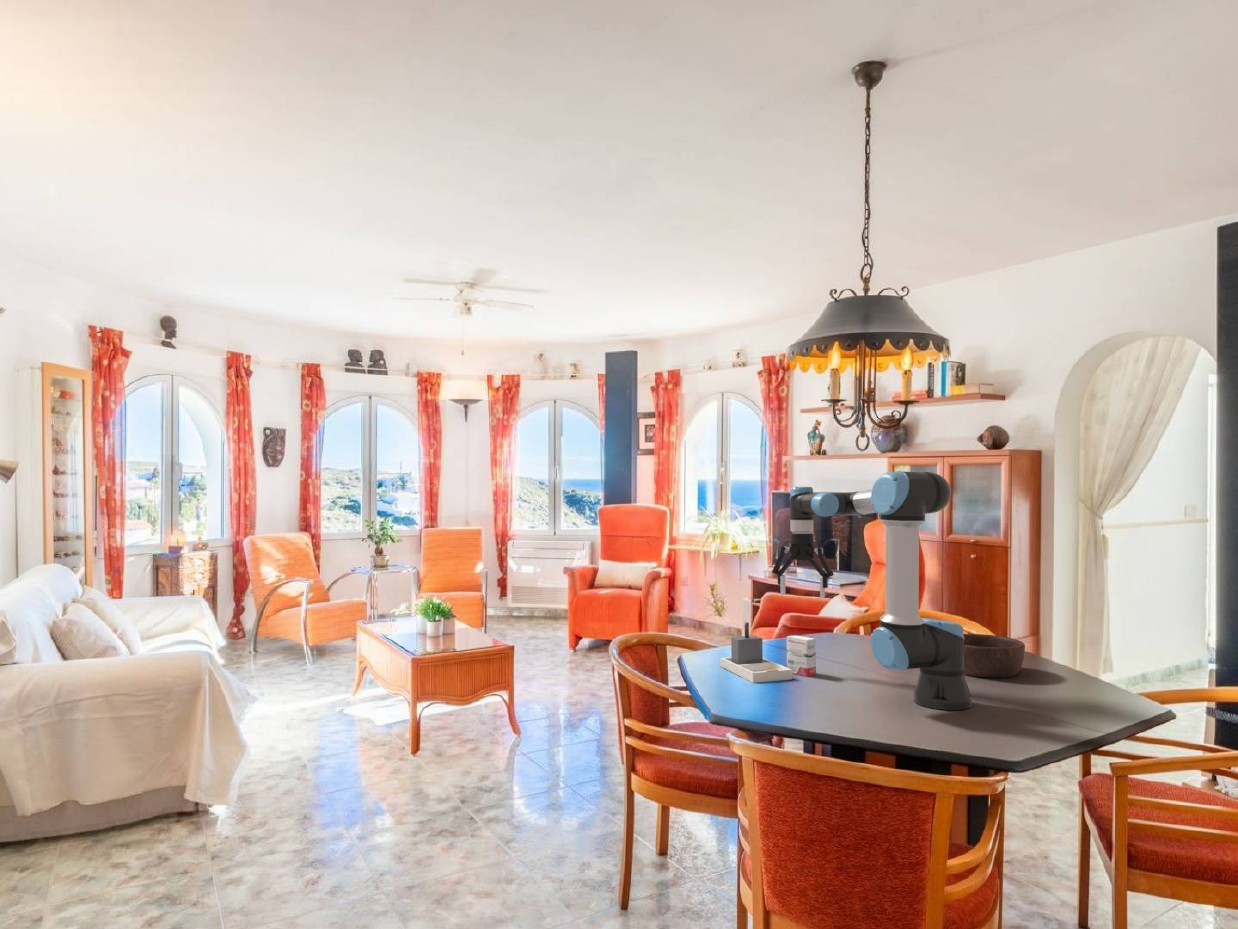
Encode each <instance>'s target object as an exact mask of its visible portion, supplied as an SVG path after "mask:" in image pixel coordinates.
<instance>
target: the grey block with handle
mask: <svg viewBox="0 0 1238 929" xmlns="http://www.w3.org/2000/svg"><path fill="white" fill-rule="evenodd" d="M749 623H750V622H747V621H746V622H744V635H743V636H732V637H731V636H730V638H731V640H730V641H731V644H730V645H731V646H730V647H731V648H730V649H731V657H732V662H733V663H735V664H737V665H741V664H753V663H763V658H764V657H763V654H764V653H763V651H764V650H763V647H764V646H763V637H760V636H758V635H750V629H749V628H750V624H749Z"/></svg>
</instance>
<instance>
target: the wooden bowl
mask: <svg viewBox="0 0 1238 929" xmlns="http://www.w3.org/2000/svg"><path fill="white" fill-rule="evenodd" d="M964 638H965V640H964V673H965V676H970V677H975V678H976V677H979V678H989V679H1002V678H1003V679H1004V678H1005V679H1006V678H1012V677H1015V676H1016V675H1017V674H1019V672H1020V670H1021V668H1022V666H1023V663H1024V657H1025V651H1026V645H1025V643H1024V642H1022V641H1021V640H1019V639H1015V638H1012V637H1007V636H1000V635H994V634H985V633H984V634H982V633H980V634H979V633H964Z"/></svg>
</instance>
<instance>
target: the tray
mask: <svg viewBox="0 0 1238 929" xmlns="http://www.w3.org/2000/svg"><path fill="white" fill-rule="evenodd" d="M719 660H720V661H719V664H720V665H719V666H720V667H719V668H721V669H723V670H725V671H727V672H730V673H731V674H734V675H736V676H738V677H740V678H741V679H744V680H745V681H746V680H747V681H749V682H750V683H764V682H765V683H767V682H777V681H778V682H779V681H787V680H789V681H790V680H793V673H792V669H789V668H787V666H785V665H782V664H780V663H776V662H774V661H772V660H769V659H767V658H764V657H763V663H753V664H741V665H737V664H735V663H733V662H732V656H731V657H730V656H729V657H720V658H719Z"/></svg>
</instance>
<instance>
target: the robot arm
mask: <svg viewBox="0 0 1238 929" xmlns="http://www.w3.org/2000/svg"><path fill="white" fill-rule="evenodd" d="M789 493H790V494H789V495H790V496H789V511H790V513H789V514H790V515H789V516H790V524H789V526H790V532H791V533H790V546H786V545H784V546H782V547H780V548H781V549H780V554H779V556H778V558H777V560H776V562H775V565H774V566H773V568H772V570H771V573H773V574H775V575H777V585H778V586H780V596H785V595H786V574H785V572H786V571H787V570H788V569H789V567H791V565H792V564H793V563H794V562H795V561H797V562H798V561H803V562H807V561H808V562H809V563H810V564H811V565H812V566H813V568H815V570H816V571H817V572H818V573H819V575H820V576H821V578H819V591H820V592H819V598H820V599H824V598H826V589H828V586H829V578H830V577H833V576H834V574H835V573H834V572H833V570H832V568H831V566H830V563H829V562H828V560H827V557H826V556H825V551H824V548H823V547H818V548H817V547H816V548H815V545H814V533H813V532H814V516H816V517H817V516H818V517H819V516H820V517H830V516H855V517H857V516H866V515H868V514H877V513H878V514H879V521H881V523H882V524H883V525H884V526H885V608H884V609H885V610H884V611H885V612H884V614H883V615H881V616H880V617H879V626H878V627H876V628H875V629H873V630H872V633H871V634H870V638H869V642H870V650H871V652H872V655H873V657H874V659H876V661H877V662H878V664H879V665H880V666H881V667H882V668H884V669H886V670H888V671H900V672H901V671H906V670H913V669H914V670H915V669H919V675H918V677H917V678H918V679H917V681H916V686H915V689H914V690H913V702H914V703H915V704H918V705H919V706H923V707H926V708H931V709H938V710H947V711H962V710H968V709H970V708H972V706H973V697H972V695H971V693H970V688H969V685H968V683H967V679H966V675H965V673H964V640H965V638H964V634H965V633H964V628H963V626H962V625H961V624H960V623H959V622H955V621H950V620H945V619H944V620H943V619H939V618H938V619H936V618H929V617H922V616H920V614H919V611H920V610H919V609H920V608H919V607H920V606H919V605H920V603H919V602H920V601H919V600H920V599H919V598H920V596H919V595H920V594H919V593H920V590H919V588H920V584H919V583H920V582H919V581H920V580H919V578H920V577H919V576H920V562H919V561H920V559H919V558H920V527H921V526H922V525H923V524H924V523H925V522H926V515H927V514H935V513H938V512H941V511H943V509H945V508H946V507H947V506H948V504H949V503H950V501H951V499H952V498H951V496H952V490H951V486H950V484H949V482H948V480H947V479H946V478H944V476H942V475H940V474H938V473H936V472H931V471H900V470H899V471H889V472H886V473H883V474H881V475H880V476H878V477H877V479H876V480H875V481H874V484H873V485H872V488H871V489H864V490H860V491H853V492H851V491H850V492H828V491H827V492H826V491H825V492H823V491H821V492H814V488H813V487H812V486H792V487H791V489H790V492H789ZM787 553H790V554H791V555H790V557H789V558H788V560H786V562H785V563H784V560H785V558H786V557H787ZM815 553H816V555H818V559H819V560H820V561H821V564H820V563H819V562H818V561H817V559H816V558H815V556H814V554H815ZM783 563H784V564H783ZM782 564H783V565H782ZM821 565H822V566H823V567H822V566H821ZM781 566H782V567H781Z"/></svg>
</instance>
